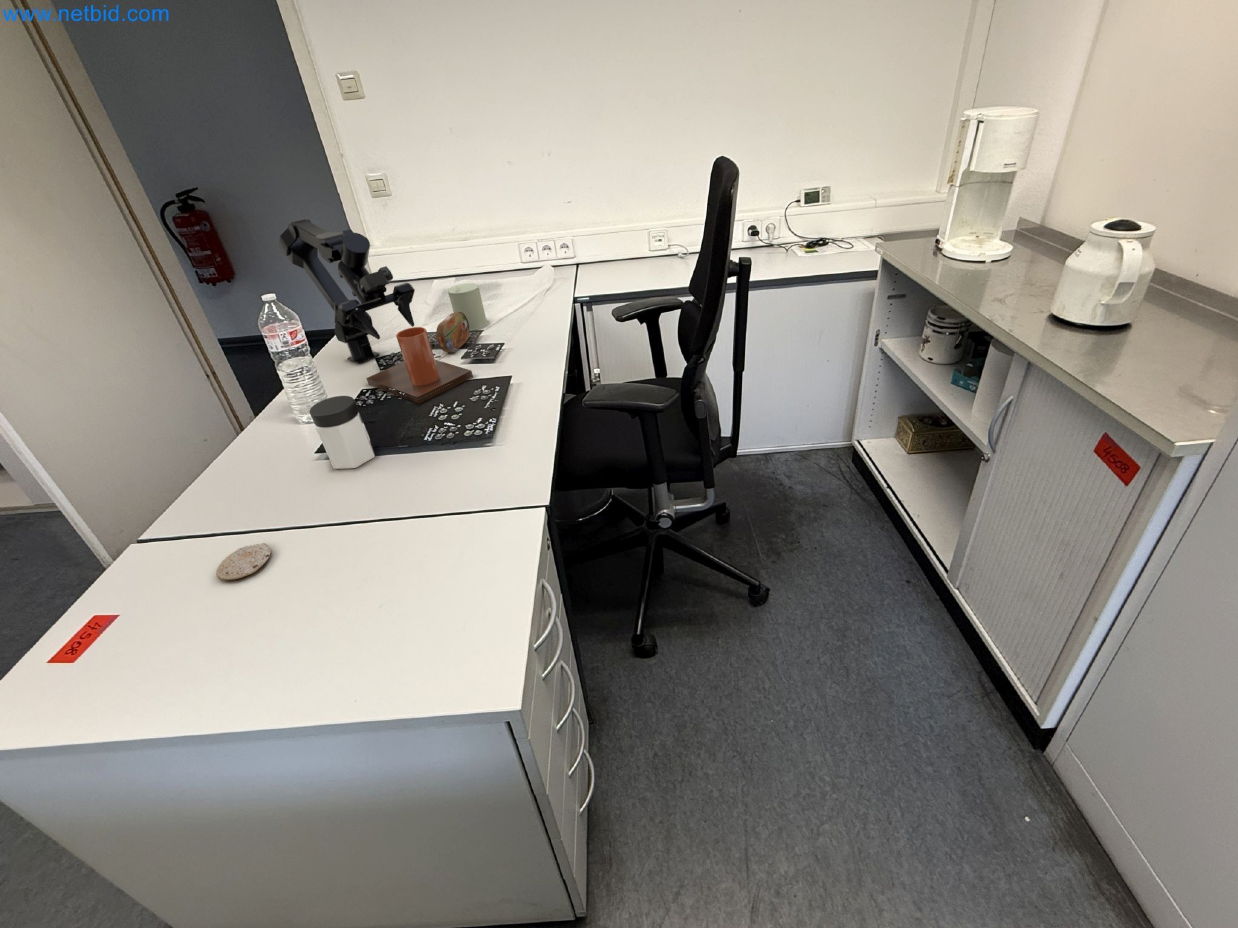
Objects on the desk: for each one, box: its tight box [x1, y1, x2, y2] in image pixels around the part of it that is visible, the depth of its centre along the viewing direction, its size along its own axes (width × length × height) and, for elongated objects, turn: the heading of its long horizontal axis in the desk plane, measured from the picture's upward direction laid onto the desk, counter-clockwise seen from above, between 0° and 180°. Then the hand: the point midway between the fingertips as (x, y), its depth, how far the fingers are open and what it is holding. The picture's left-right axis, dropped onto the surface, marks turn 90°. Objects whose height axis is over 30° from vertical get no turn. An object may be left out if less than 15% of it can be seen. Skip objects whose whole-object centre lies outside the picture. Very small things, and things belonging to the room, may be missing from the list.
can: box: [447, 282, 488, 332], centre depth 173 cm, size 9×9×12 cm
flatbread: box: [215, 542, 272, 581], centre depth 92 cm, size 8×8×1 cm
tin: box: [435, 312, 471, 353], centre depth 161 cm, size 15×3×8 cm, turn 168°
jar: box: [309, 395, 376, 470], centre depth 113 cm, size 9×8×12 cm
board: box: [365, 359, 474, 405], centre depth 145 cm, size 22×16×2 cm
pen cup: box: [395, 326, 439, 386], centre depth 138 cm, size 7×7×12 cm
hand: (396, 331), depth 140 cm, fingers open, 9 cm apart
